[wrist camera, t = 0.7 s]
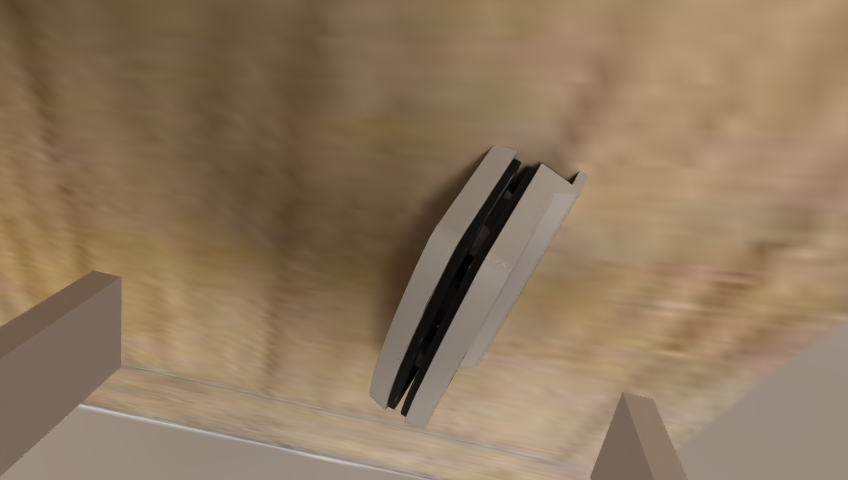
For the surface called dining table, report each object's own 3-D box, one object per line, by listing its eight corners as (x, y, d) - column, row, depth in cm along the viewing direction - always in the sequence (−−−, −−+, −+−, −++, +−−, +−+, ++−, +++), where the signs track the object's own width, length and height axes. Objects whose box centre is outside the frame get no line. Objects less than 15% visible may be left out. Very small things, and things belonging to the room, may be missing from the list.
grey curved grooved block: (484, 350, 40) (421, 473, 33) (425, 316, 41) (351, 430, 34) (592, 168, 28) (529, 300, 22) (506, 126, 29) (418, 240, 22)
